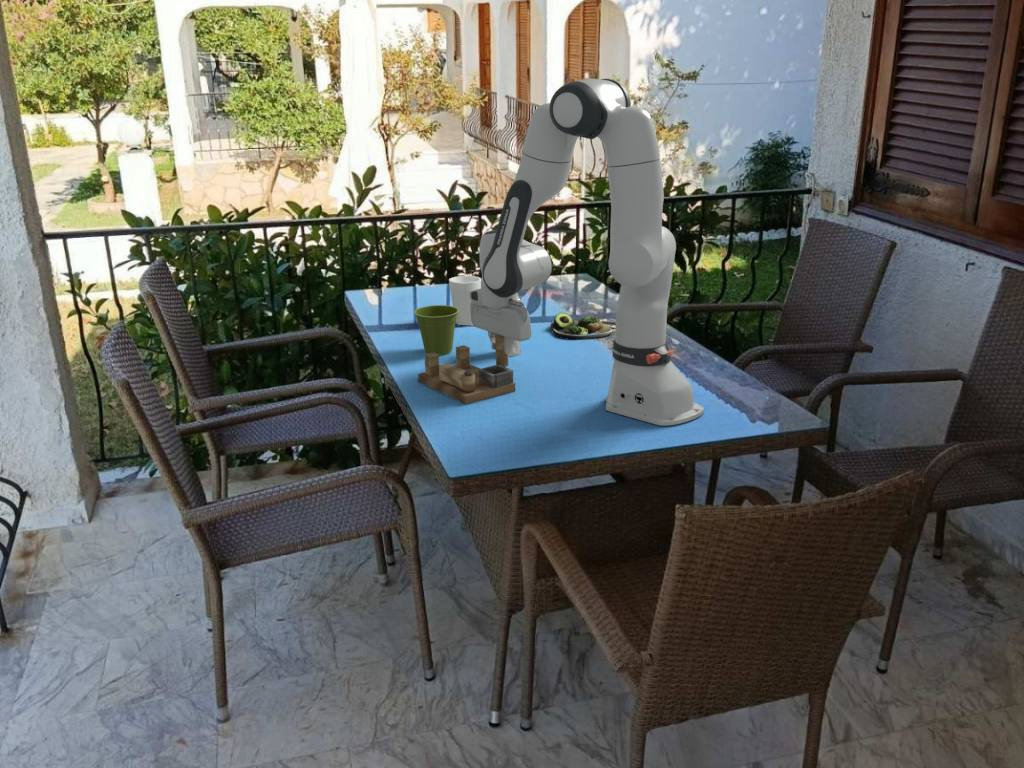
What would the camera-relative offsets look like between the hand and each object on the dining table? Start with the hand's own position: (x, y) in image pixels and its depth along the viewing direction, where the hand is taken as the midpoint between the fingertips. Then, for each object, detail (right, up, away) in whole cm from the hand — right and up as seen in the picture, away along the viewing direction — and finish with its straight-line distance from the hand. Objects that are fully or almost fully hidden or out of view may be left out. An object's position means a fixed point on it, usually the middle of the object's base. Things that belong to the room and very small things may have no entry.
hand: (501, 351), depth 227 cm
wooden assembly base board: (-8, -9, -7) cm, 14 cm away
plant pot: (-17, 0, +19) cm, 25 cm away
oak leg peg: (0, -3, +1) cm, 4 cm away
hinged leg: (-10, -8, -13) cm, 18 cm away
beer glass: (+2, 0, +17) cm, 17 cm away
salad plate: (+22, +7, +37) cm, 43 cm away
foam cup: (-11, +10, +45) cm, 47 cm away
